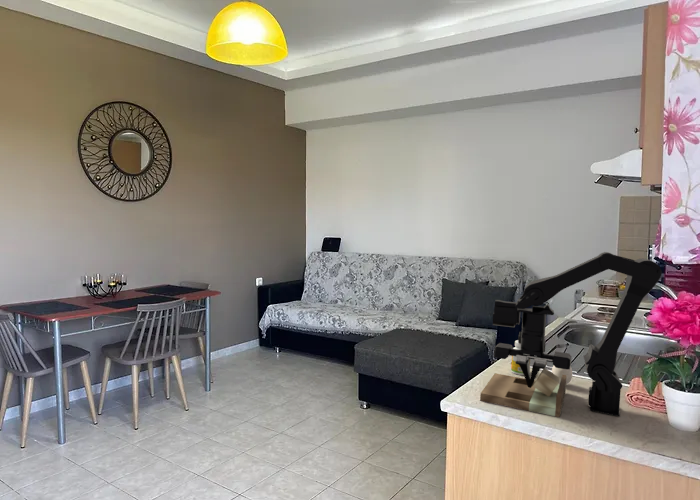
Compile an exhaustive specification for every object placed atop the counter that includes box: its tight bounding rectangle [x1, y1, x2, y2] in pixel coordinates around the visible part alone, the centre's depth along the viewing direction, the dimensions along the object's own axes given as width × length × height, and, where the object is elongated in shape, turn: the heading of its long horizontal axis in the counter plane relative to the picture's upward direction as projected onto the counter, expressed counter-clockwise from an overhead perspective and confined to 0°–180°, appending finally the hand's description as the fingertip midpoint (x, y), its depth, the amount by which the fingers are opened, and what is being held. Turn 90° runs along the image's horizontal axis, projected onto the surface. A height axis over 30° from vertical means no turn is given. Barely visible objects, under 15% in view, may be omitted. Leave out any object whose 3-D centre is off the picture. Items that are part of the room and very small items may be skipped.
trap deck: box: [479, 373, 567, 418], centre depth 126 cm, size 19×18×5 cm
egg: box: [551, 365, 573, 386], centre depth 136 cm, size 5×5×8 cm
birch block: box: [533, 368, 560, 397], centre depth 124 cm, size 4×4×4 cm
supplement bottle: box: [510, 339, 528, 376], centre depth 146 cm, size 5×5×10 cm
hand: (529, 387), depth 126 cm, fingers closed
